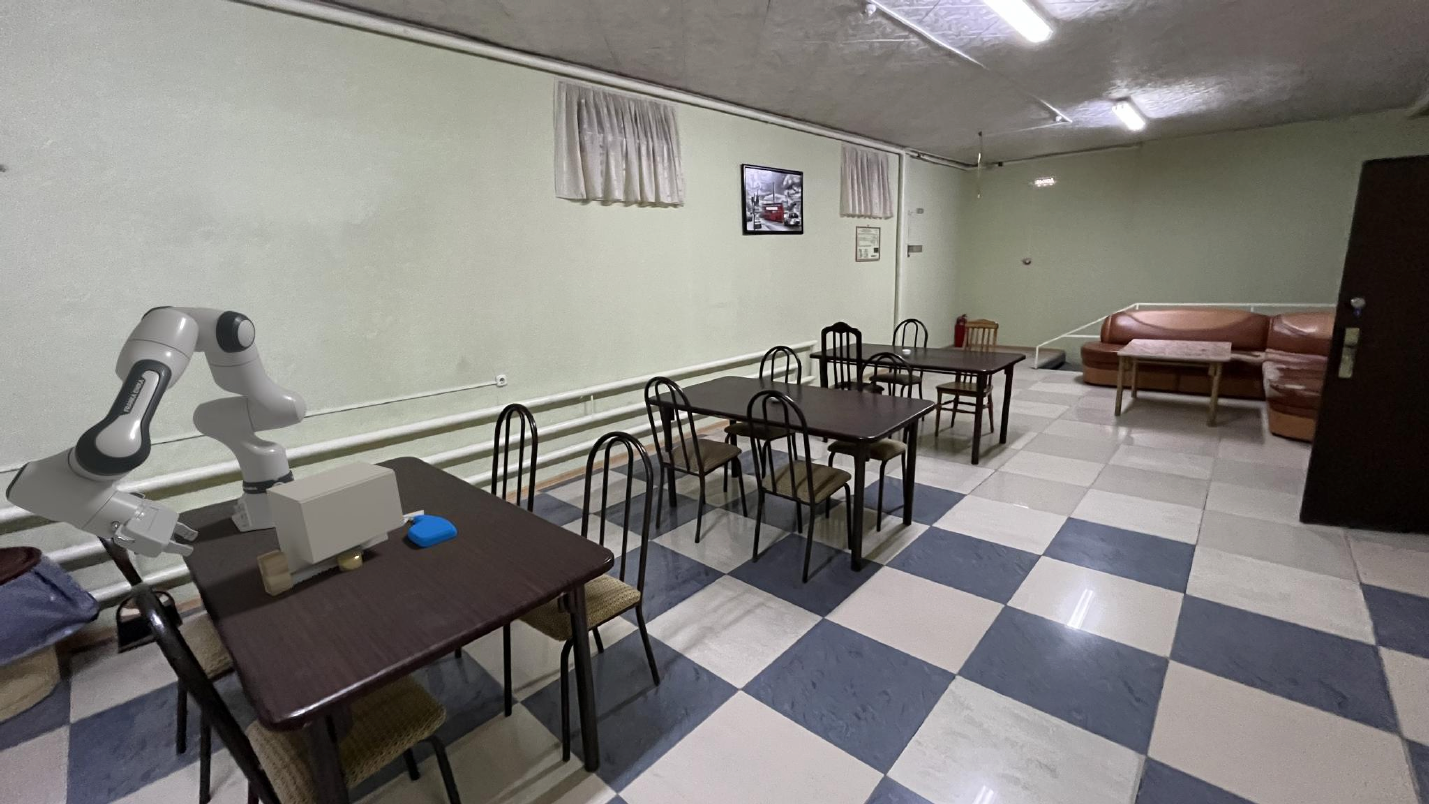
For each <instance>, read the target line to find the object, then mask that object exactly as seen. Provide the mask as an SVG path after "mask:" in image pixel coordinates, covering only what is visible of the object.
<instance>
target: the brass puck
mask: <svg viewBox="0 0 1429 804" xmlns="http://www.w3.org/2000/svg"><path fill="white" fill-rule="evenodd" d="M337 560H338V564H339V565H338V568H339V571H341V572H351V571H353V570H356V569H358V568H360V567H361V566H362V565H363V563H364V562H363V559H362V555H361V552H360V551H350V552H347V553H344V554H342V555H340V556H339V557H338V558H337ZM355 568H356V569H355Z"/></svg>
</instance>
